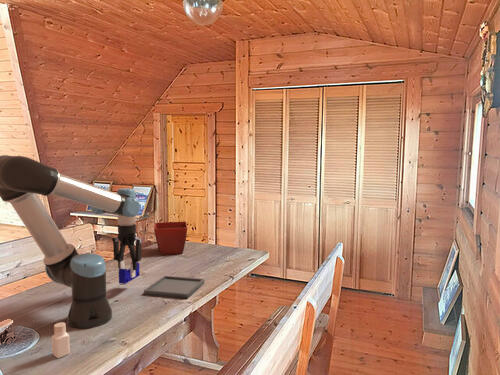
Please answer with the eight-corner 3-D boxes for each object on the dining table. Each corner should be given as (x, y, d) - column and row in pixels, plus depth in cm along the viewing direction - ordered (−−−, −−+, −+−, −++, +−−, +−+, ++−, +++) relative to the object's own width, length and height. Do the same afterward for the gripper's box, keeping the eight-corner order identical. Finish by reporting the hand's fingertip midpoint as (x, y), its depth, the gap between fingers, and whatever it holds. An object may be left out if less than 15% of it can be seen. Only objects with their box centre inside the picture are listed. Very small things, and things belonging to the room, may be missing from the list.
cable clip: (130, 274, 181) (130, 261, 180) (139, 275, 180) (139, 262, 179) (115, 283, 169) (115, 269, 169) (125, 283, 168) (125, 270, 168)
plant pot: (154, 257, 229) (153, 228, 228) (155, 249, 248) (154, 222, 246) (187, 255, 233) (187, 227, 231) (186, 247, 252) (186, 221, 250)
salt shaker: (57, 359, 118) (55, 328, 117) (51, 354, 121) (50, 324, 120) (70, 354, 121) (69, 324, 120) (65, 349, 124) (63, 320, 123)
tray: (187, 298, 165) (187, 294, 165) (144, 294, 170) (144, 290, 170) (204, 283, 185) (204, 279, 185) (164, 279, 189) (164, 275, 189)
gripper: (149, 223, 174) (150, 275, 176) (113, 221, 178) (114, 272, 180) (140, 226, 167) (141, 280, 168) (103, 224, 171) (104, 277, 173)
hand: (127, 276), depth 174 cm, fingers closed on cable clip, 4 cm apart
